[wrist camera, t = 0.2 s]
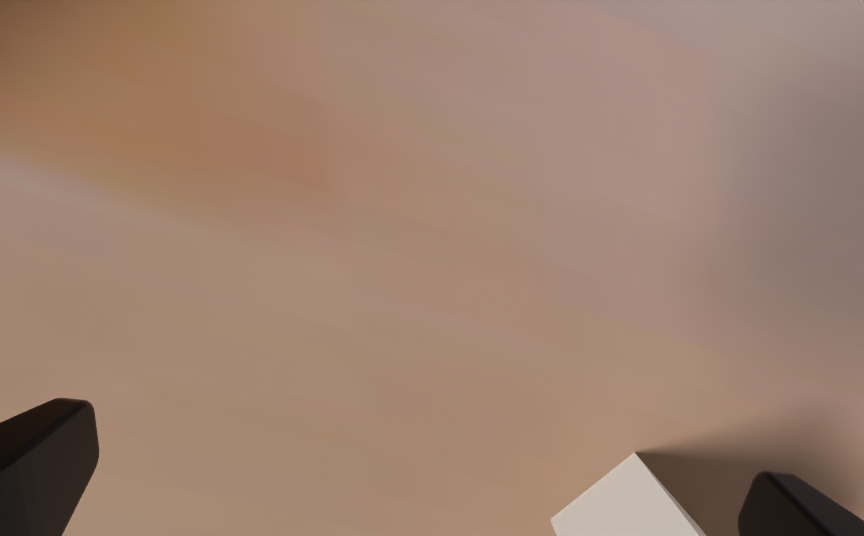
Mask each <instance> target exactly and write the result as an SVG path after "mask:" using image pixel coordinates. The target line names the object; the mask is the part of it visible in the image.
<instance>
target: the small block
mask: <svg viewBox="0 0 864 536" xmlns="http://www.w3.org/2000/svg"><path fill="white" fill-rule="evenodd" d="M550 520H551V523H552V525H553V528H554V530H555V533H556V536H706V535H705V533H704V532H703V531H702V530H701V528H700V527H699V526H698V525H697V524H696V522H695V521H694V520H693V519H692V518H691V517H690V515H689V514H688V513H687V512H686V511H685V510H684V509H683V507H682V506H681V505H680V504H679V503H678V502H677V501H676V499H675V498H674V497H673V496H672V495H671V494H670V493H669V491H668V490H667V489H666V488H665V487H664V486H663V485H662V483H661V482H660V481H659V480H658V479H657V478H656V477H655V475H654V474H653V473H652V472H651V471H650V470H649V468H648V467H647V466H646V465H645V464H644V463H643V462H642V460H641V459H640V458H639V457H638V456H637V455H636V454H635V452H634V453H633V454H632V455H630V456H629V457H628V458H627V459H625V460H624V461H623V462H622V463H620V464H619V465H618V466H616V467H615V468H614V469H613V470H611V471H610V472H609V473H608V474H606V475H605V476H604V477H603V478H601V479H600V480H599V481H598V482H596V483H595V484H594V485H593V486H591V487H590V488H589V489H588V490H586V491H585V492H584V493H583V494H581V495H580V496H579V497H578V498H576V499H575V500H574V501H573V502H571V503H570V504H569V505H568V506H566V507H565V508H564V509H563V510H561V511H560V512H559V513H558V514H556V515H555V516H554V517H553V518H551V519H550Z"/></svg>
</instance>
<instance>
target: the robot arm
mask: <svg viewBox="0 0 864 536" xmlns="http://www.w3.org/2000/svg"><path fill="white" fill-rule="evenodd" d="M98 458H99V444H98V436H97V428H96V420H95V412H94V408H93V406H92V404H91V403H90V402H88V401H86V400H78V399H69V398H56V399H53V400H51V401H48V402H46V403H44V404H42V405H39V406H37V407H35V408H32V409H30V410H28V411H26V412H23V413H21V414H19V415H17V416H14V417H12V418H10V419H8V420H5V421H3V422H1V423H0V536H62V534H63V532H64V530H65V528H66V526H67V524H68V522H69V520H70V518H71V516H72V514H73V512H74V510H75V508H76V506H77V504H78V502H79V500H80V498H81V496H82V495H83V493H84V491H85V489H86V487H87V485H88V483H89V481H90V479H91V477H92V475H93V473H94V471H95V468H96V466H97V463H98ZM738 531H739V535H740V536H864V521H863V520H862V519H860V518H859V517H857V516H856V515H854V514H853V513H851V512H850V511H848V510H847V509H845V508H844V507H842V506H841V505H839V504H838V503H836V502H835V501H833V500H831V499H830V498H828V497H827V496H825V495H824V494H822V493H821V492H819V491H818V490H816V489H815V488H813V487H812V486H810V485H809V484H807V483H806V482H804V481H803V480H801V479H800V478H798V477H797V476H795V475H793V474H790V473H785V472H775V471H761V472H759V473H758V474H757V475H756V476H755V477H754V479H753V482H752V484H751V486H750V489H749V491H748V494H747V496H746V498H745V501H744V503H743V506H742V508H741V510H740V513H739V517H738Z"/></svg>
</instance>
